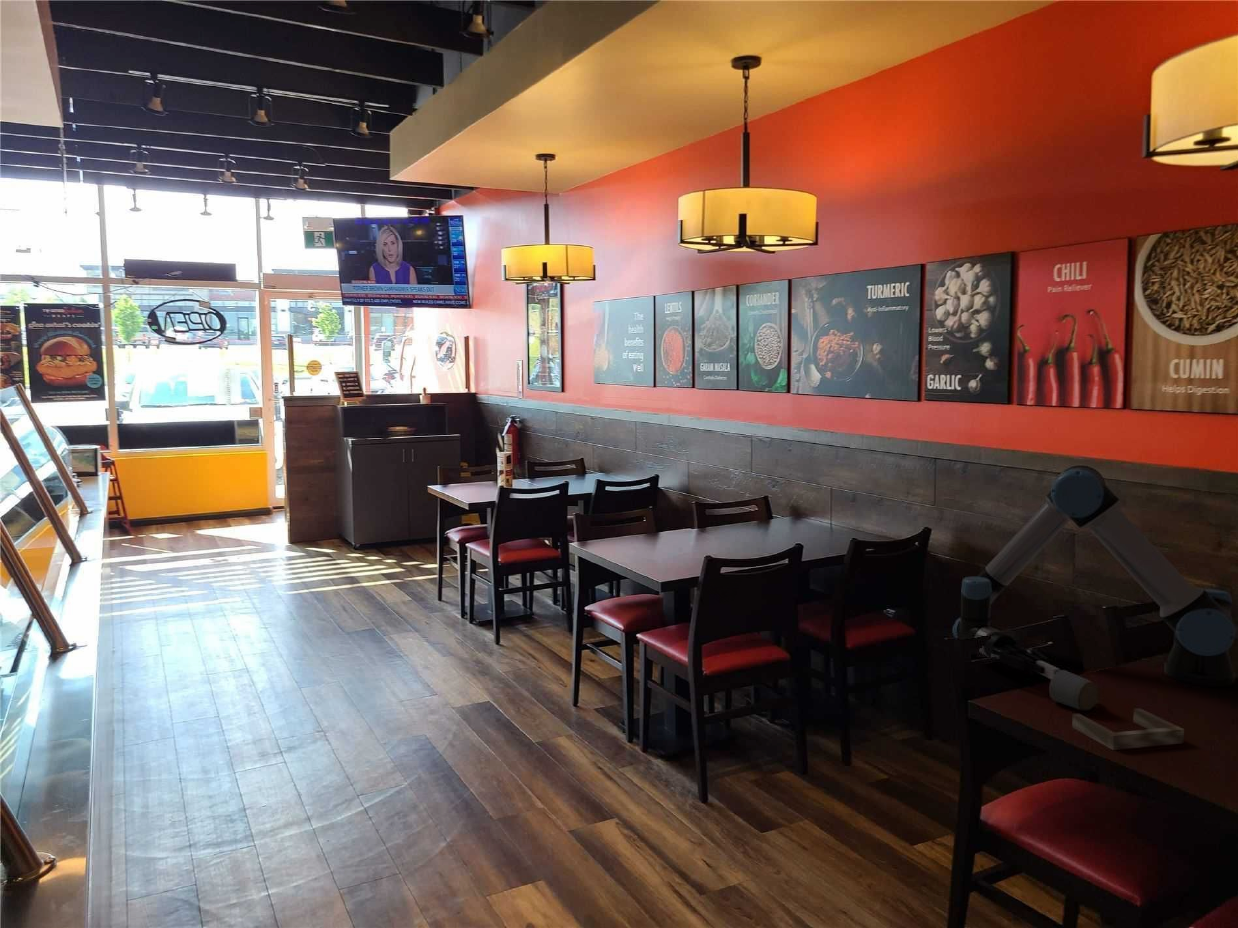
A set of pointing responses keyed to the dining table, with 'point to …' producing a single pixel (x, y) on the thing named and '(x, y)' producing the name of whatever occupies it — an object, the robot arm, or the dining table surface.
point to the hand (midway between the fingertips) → (1056, 674)
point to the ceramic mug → (1073, 691)
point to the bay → (1132, 732)
